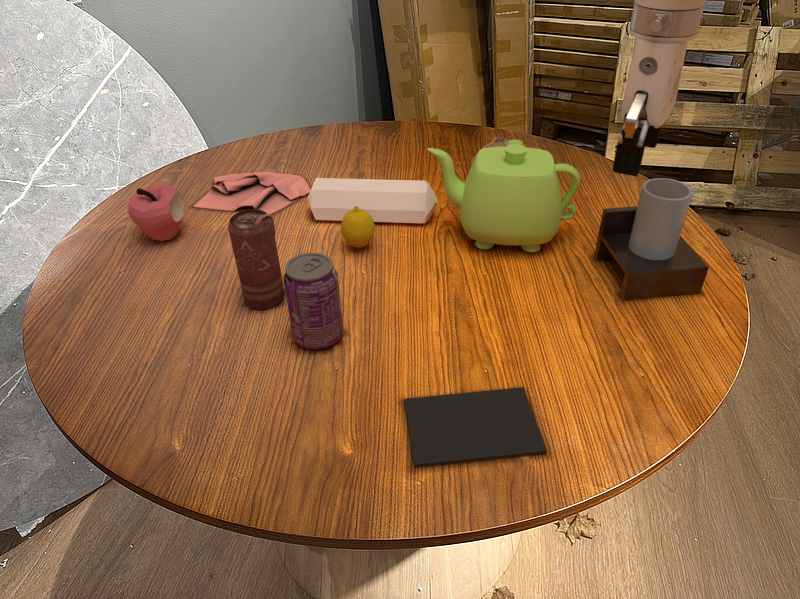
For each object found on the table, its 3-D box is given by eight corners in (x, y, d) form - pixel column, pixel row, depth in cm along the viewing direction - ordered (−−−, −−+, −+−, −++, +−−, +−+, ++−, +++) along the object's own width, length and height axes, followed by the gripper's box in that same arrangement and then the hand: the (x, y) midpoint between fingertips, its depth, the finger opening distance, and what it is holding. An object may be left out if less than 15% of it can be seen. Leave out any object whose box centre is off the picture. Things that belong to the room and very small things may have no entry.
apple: (173, 253, 105) (158, 200, 99) (128, 247, 106) (110, 196, 100) (200, 224, 112) (187, 174, 106) (157, 220, 114) (142, 170, 108)
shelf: (664, 250, 102) (677, 202, 96) (700, 293, 92) (717, 243, 87) (593, 256, 101) (603, 208, 96) (622, 300, 91) (635, 250, 86)
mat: (522, 390, 77) (523, 386, 77) (546, 454, 69) (547, 450, 69) (404, 401, 76) (404, 398, 76) (414, 468, 68) (414, 464, 68)
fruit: (344, 258, 102) (340, 216, 97) (341, 241, 106) (337, 199, 102) (377, 255, 103) (375, 213, 98) (373, 238, 107) (371, 196, 102)
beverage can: (316, 314, 91) (306, 244, 83) (354, 331, 87) (347, 260, 80) (282, 340, 86) (269, 269, 79) (321, 359, 83) (311, 288, 75)
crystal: (439, 183, 114) (312, 179, 117) (437, 180, 107) (302, 177, 110) (437, 223, 115) (312, 219, 118) (436, 223, 108) (302, 219, 111)
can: (293, 300, 93) (280, 219, 85) (254, 315, 91) (236, 234, 82) (276, 281, 97) (262, 202, 89) (238, 295, 95) (220, 215, 86)
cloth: (327, 192, 121) (325, 181, 119) (228, 233, 109) (225, 221, 108) (270, 160, 133) (268, 150, 132) (176, 194, 122) (173, 183, 120)
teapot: (566, 199, 116) (579, 117, 107) (575, 263, 99) (591, 173, 90) (435, 193, 120) (436, 113, 110) (421, 253, 103) (421, 165, 93)
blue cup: (663, 234, 97) (679, 176, 91) (683, 258, 91) (702, 197, 85) (621, 238, 96) (634, 179, 90) (639, 262, 91) (654, 201, 85)
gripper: (684, 43, 64) (648, 192, 74) (712, 8, 76) (677, 140, 86) (611, 35, 67) (587, 179, 77) (649, 2, 79) (623, 131, 89)
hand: (634, 158), depth 82 cm, fingers open, 9 cm apart
